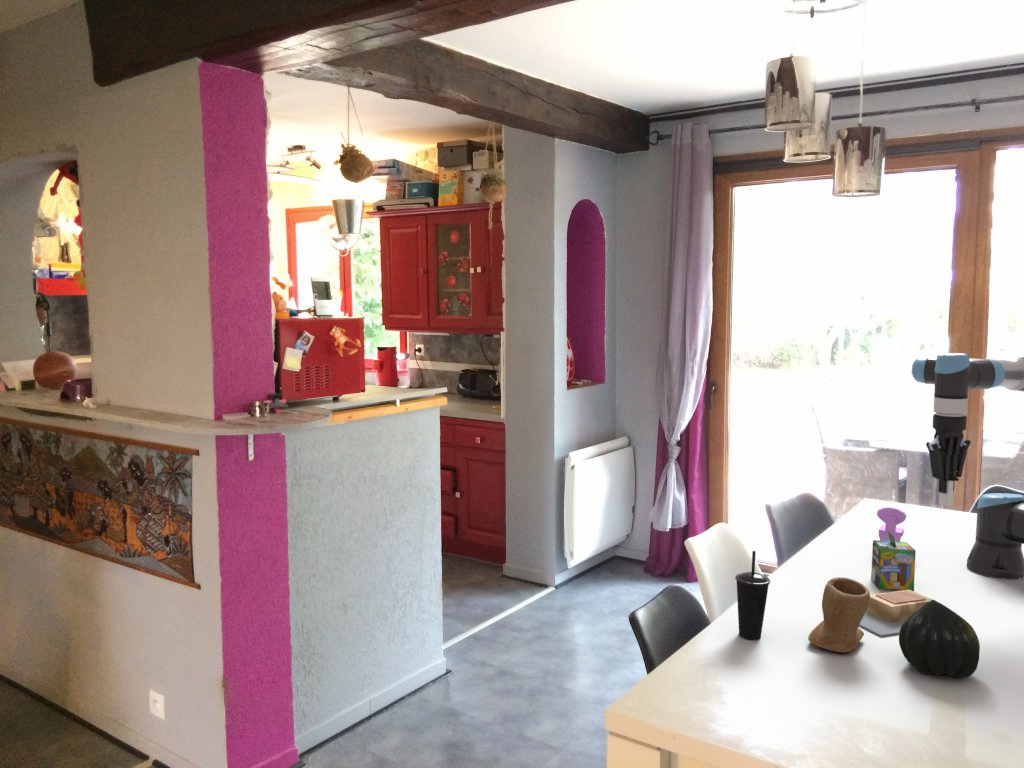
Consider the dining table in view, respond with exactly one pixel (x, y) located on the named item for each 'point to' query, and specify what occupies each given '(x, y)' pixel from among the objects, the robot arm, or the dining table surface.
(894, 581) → the chalk box
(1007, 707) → the dining table surface
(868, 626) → the mat
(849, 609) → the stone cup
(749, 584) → the drinking cup
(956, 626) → the squash
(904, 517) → the toy chair
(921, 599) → the oak slab
